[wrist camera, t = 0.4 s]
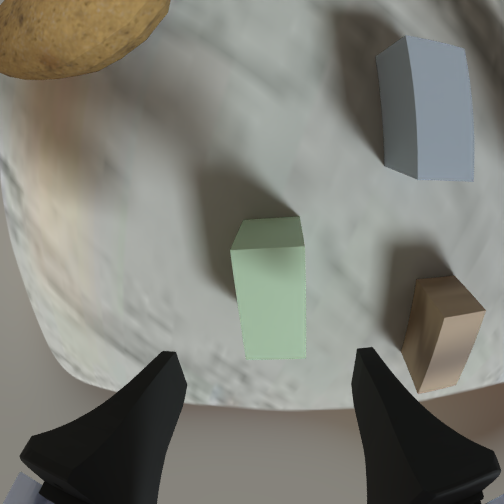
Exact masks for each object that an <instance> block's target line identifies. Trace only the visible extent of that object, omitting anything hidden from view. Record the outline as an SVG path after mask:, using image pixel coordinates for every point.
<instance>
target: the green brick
mask: <svg viewBox="0 0 504 504" xmlns="http://www.w3.org/2000/svg"><path fill="white" fill-rule="evenodd" d="M230 254H231V261H232V268H233V275H234V282H235V289H236V296H237V303H238V310H239V316H240V323H241V330H242V336H243V343H244V349H245V356H246V360H272V359H303V358H306V276H305V245H304V239H303V233H302V227H301V222H300V216H299V217H281V218H265V219H250V220H243V222H242V224H241V226H240V229H239V231H238V233H237V235H236V238H235V240H234V242H233V245H232V247H231V249H230Z"/></svg>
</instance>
